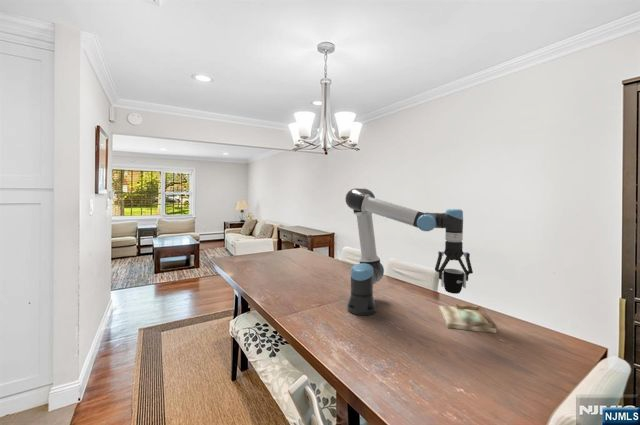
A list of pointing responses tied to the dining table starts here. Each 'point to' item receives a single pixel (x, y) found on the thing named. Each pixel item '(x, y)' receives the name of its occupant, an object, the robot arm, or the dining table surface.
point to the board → (467, 318)
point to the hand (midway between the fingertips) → (453, 286)
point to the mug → (453, 280)
